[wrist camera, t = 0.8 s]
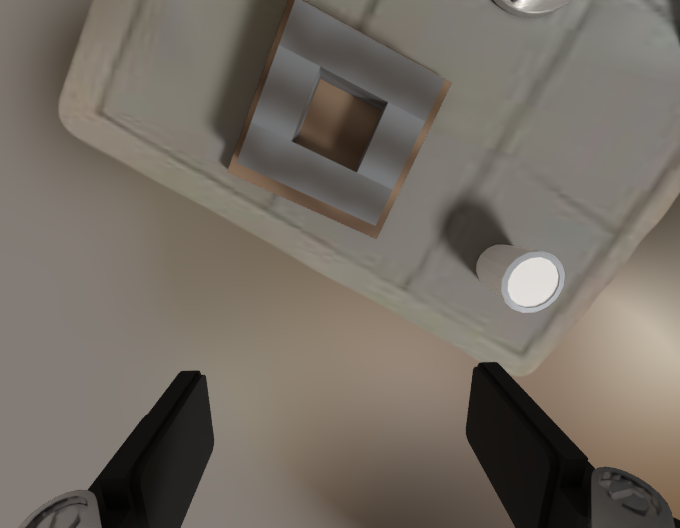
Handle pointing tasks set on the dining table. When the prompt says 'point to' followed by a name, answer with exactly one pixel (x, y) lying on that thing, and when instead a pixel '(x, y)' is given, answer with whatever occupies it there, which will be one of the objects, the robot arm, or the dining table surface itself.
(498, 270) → the white and grey cylinder
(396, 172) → the holder
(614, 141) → the dining table surface
